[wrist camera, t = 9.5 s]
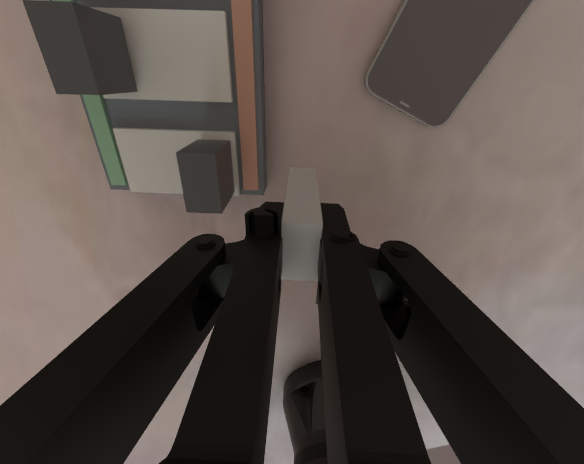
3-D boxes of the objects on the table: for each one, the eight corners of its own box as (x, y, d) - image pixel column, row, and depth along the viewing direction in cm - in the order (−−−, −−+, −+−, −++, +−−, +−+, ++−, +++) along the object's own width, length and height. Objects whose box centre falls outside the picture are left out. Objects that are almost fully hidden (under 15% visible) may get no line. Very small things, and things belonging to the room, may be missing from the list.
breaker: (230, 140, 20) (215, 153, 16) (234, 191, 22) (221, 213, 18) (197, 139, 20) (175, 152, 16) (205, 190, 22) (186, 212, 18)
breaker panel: (259, -140, 15) (251, -177, 13) (266, 186, 24) (262, 197, 22) (28, -145, 15) (-19, -182, 13) (124, 181, 25) (107, 191, 22)
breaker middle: (120, 17, 16) (71, 1, 13) (137, 91, 18) (99, 95, 15) (81, 16, 16) (22, 0, 13) (102, 90, 18) (56, 93, 15)
